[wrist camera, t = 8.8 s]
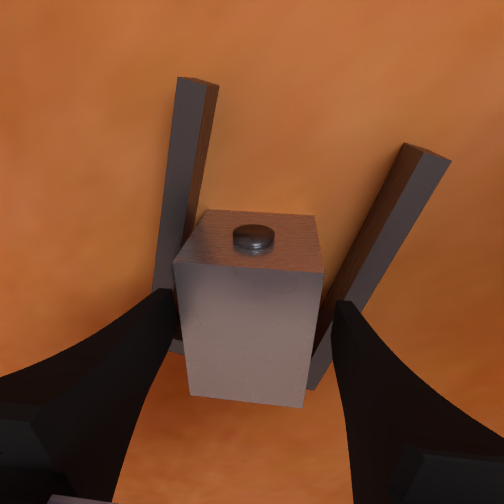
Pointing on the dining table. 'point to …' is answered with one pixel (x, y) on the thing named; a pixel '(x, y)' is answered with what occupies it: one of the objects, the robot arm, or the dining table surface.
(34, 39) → the dining table surface
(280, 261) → the block
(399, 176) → the channel bracket
